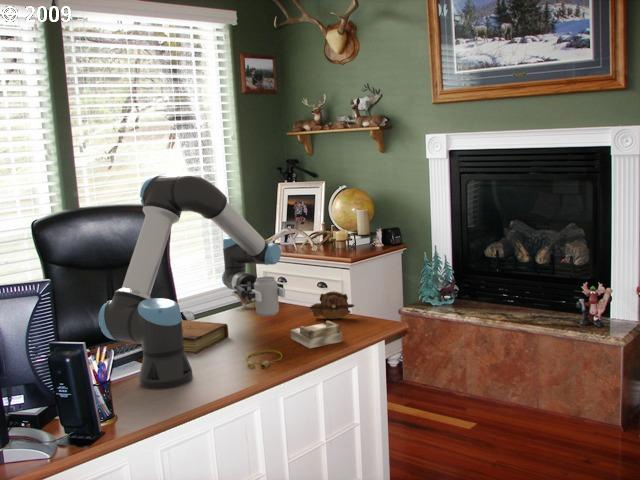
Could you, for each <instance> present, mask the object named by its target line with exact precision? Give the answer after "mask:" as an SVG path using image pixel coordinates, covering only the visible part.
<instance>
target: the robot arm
mask: <svg viewBox="0 0 640 480" xmlns="http://www.w3.org/2000/svg"><path fill="white" fill-rule="evenodd" d="M139 197H140V198H141V199H140V203H141V205H142V212H143V214H144V216H145V217H144V220H143V223H142V227H141V229H140V232H139V235H138V238H137V241H136V244H135V247H134V250H133V253H132V255H131V258H130V262H129V265H128V268H127V271H126V274H125V277H124V280H123V284H122V286H121V288H119V289H117V290H115V291H114V295H113V297H112V299H111V300H107V301H106V302H105V303H104V304H103V305H102V306H101V308H100V309H99V313H98V325H99V328H100V331H101V332H102V333H103V335H104V337H106V338H108V339H111V340H114V341H117V342H127V343H128V342H129V343H135V344H141V346H142V348H141V349H142V356H143V357H142V361H141V367H140V370H139V375H138V376H139V377H138V378H139V385H140V386H141V387H143V388H145V389H150V390H151V389H152V390H162V389H170V388H176V387H179V386H181V385H184V384H187V383H189V382H190V381H192V379H193V376H194V374H193V368H192V366H191V364H190V362H189V359H188V357H187V356H186V353H185V352H184V344H183V331H182V320H183V317H182V314H181V308H180V305H179V303H177V302H176V301H175V300H172V299H169V298H162V297H161V298H157V297H155V298H154V297H153V298H152V297H151V293H152V290H153V286H154V284H155V281H156V278H157V275H158V271H159V268H160V265H161V263H162V259H163V255H164V252H165V249H166V246H167V243H168V240H169V236H170V233H171V230H172V227H173V225H174V224H175V223H178V222H179V221H180V218H181V215H182V213H183V212H192V213H196V214H199V215H201V216H202V217H203V218H204V219H205V220H211V222H212V223H214V224H215V225H216V226H217V227H218V228H220V229H221V231H223V232H224V233H225V234H226V235H227V236H225V237H223V239H222V245H223V247H222V250H223V262H224V270H223V273H222V276H221V280H222V283H223V285H224V286H225V287H226V288H228V289H230V290H231V291H233V290H234V293H235V294H238V295H239V296H240V297H241V298H243V299H244V298H246V297H248V301H251V300H252V298H253V299H255V300H257V301H259V302H261V301H262V296H261V293H260V292H258V291H256V290H254V283H255V282H256V278H258V277H257V276H256V275H254V274H252V273H249V272H247V268H246V267H247V264H254V265H265V266H268V265H269V266H270V265H271V266H272V265H276V264H278V263H279V262H280V259H281V255H282V249H281V246H280V245H279V244H278V243H275V242H272V241H271V242H268V241H266V239H265V238H263V236H262V235H260V234H259V233H258V231H257V230H256V229H255V228H253V226H252V225H251V224H250V223H249V222H248V221H247V220H246V219H245V218H244V217H243V216H242V215H241V214H240V213H238V211H237V210H236V209H234V208H233V206H232V205H231V204H229V202H228V198H227V196H226V195H225V194H224V193H223V192H222V191H221V190H220V189H219V188H218V187H217V186H216V185H214V184H213V183H211V182H210V181H208V180H207V179H205V178H203V177H202V176H199V175H196V174H192V173H180V174H179V173H178V174H175V173H174V174H173V173H172V174H168V173H161V174H155V175H151V176H150V177H147V179H146V180H145V181H144V182H143V183H142V186H141V188H140V193H139ZM277 286H278V297H280V298H283V299H284V298H286V289H285V287H284V284H282V283H279V282H277ZM255 300H254V301H255Z"/></svg>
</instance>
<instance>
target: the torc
mask: <svg viewBox="0 0 640 480" xmlns="http://www.w3.org/2000/svg"><path fill="white" fill-rule="evenodd" d="M265 353H274V354H278V355H280V358H278V359H275V360H271V361H269V360H264V361H263V362H257V361H252V360H251V359H249V358H250V357H252V355H253V356H256V355H260V354H265ZM255 354H256V355H255ZM249 356H250V357H249ZM282 359H283V354H282V353H281V352H280V351H278V350H275V349H265V350H264V349H263V350H258V351H254V352H252V353H250V354H248V355H247V356H246V359H245V360H246V361H247V367H248V368H249V369H254V368H256V366H255V364H257V363H258V364H257V365H259V364H260V369H261V370H266V368H268V366H269V364H274V363H276V362H280V361H281V360H282Z"/></svg>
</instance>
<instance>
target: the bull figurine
mask: <svg viewBox="0 0 640 480" xmlns="http://www.w3.org/2000/svg"><path fill="white" fill-rule="evenodd" d="M230 295H231V296H232V297H234V298H236V299H237V300H238V301H239V302H240V303H242V306H241V308H240V309H241V310H244V309H245V308H246V307H247V306H246V305H247V302H248V301H249V300H248V297H246V298H244V299H243V298H241V297H240V296H239V295H238V294H235V293H234V290H232V292H231V293H230ZM250 301H251V302H252V303H253V302H255V299H253V298H252V300H250ZM254 306H255V307H256V304H254Z"/></svg>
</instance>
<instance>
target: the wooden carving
mask: <svg viewBox="0 0 640 480" xmlns="http://www.w3.org/2000/svg"><path fill="white" fill-rule="evenodd" d="M348 298H349V297H348V295H347V293H343V292H339V291H336V290H335V291H328V292H325V293H321V294H320V296H319V301H320V303H318V302H317V303H316V302H315V303H313V304H311V305H310V306H309V310H311V311H312V314H313V315H312V316H313V317H314V318H319V317H321V316H322V317H323V318H326V319H329V320H337V319H340V318H344V317H345V316H347V315H348V314H351V313H352V312H351V310H349V309H350V308H353V307H355V304H353V303H348Z"/></svg>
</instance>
